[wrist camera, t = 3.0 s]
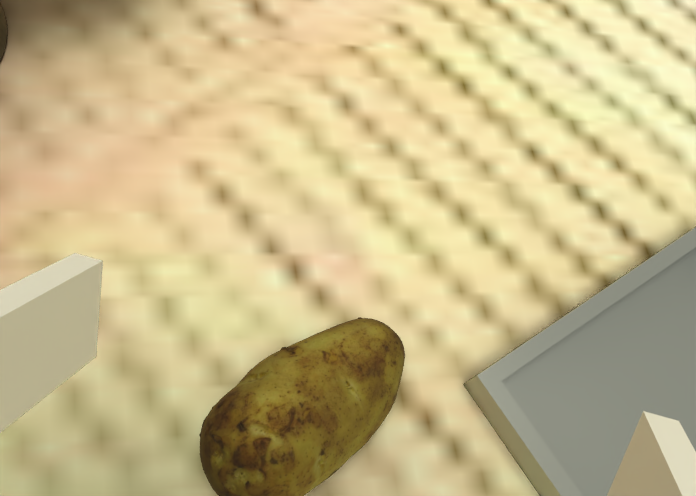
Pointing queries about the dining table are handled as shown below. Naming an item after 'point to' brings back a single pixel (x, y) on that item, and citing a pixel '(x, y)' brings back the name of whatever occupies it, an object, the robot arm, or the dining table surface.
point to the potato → (302, 411)
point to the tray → (599, 377)
